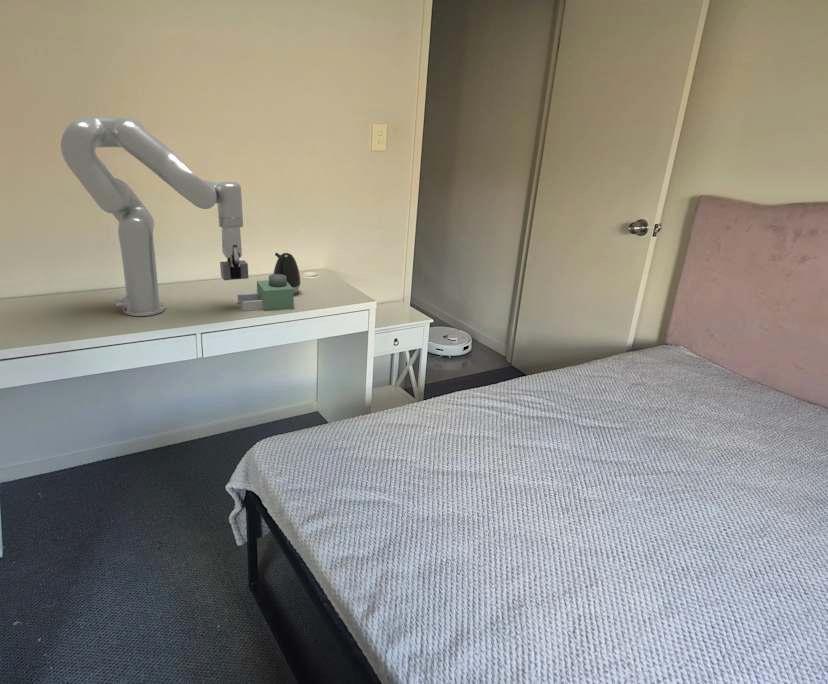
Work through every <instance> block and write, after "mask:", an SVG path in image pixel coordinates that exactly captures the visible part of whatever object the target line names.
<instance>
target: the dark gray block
mask: <svg viewBox="0 0 828 684" xmlns="http://www.w3.org/2000/svg"><path fill="white" fill-rule="evenodd" d="M219 265H220V267H219V268H220V277H221V279H222V280H223V281H232V280H245V279H246V280H247V279H250V278H249V264H248V262H247V261H246V260H244V259H243V260H240V268H241V278H236V279H232V278H231V272H230V267H231V261H227V260H226V261H220V262H219Z"/></svg>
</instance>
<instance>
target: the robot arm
mask: <svg viewBox="0 0 828 684" xmlns="http://www.w3.org/2000/svg"><path fill="white" fill-rule="evenodd" d="M61 136H62V137H61V140H60V152H61V155H62V158H63V160H64V163H66V164H65V165H66V166H67V167H68V168H69V169H70V170H71V172H72V173H73V176H75V177H76V178H77V180H78V181H79V182H80V183H81V186H83V188H84V189H85V190H86V191H87V193H88V194H89V195H90V197H92V199H93V200H94V201H95V203H96V204H97V206H98V207H99V208H100V209H101V210H102V211H104V212H106V213H107V214H112V215H113V216H114V218H115V219H116V220H117V222H119V223H118V226H117V232H118V233H117V235H118V241H119V245H120V252H121V257H122V258H121V261H122V267H123V276H124V284H125V297H122V299H111V300H110V301H111V306H112V307H113V306H115V307H116V308H121V307H122V312H123V314H125V315H128V316H133V317H149V316H150V317H151V316H154V315H159V314H161V313H163V312H164V311H165V309H166V305H165V304H164V303H162V302H160V294H159V283H158V282H159V281H158V273H157V271H158V270H157V263H156V253H155V252H156V251H155V244H154V227H155V222H154V218H153V216H152V214H151V213H150V211H149V210H148V209H147V207H146V205H144V203H143V202H142V201H141V200H140V199H139V197H138V196H137V194H136V193H135V192H134V190H133V189H132V188H131V187H130V186H129V184H127V183H126V181H124V180H122V179H121V178H116V177H115V176H114V175H113V174H112V173H111V172H110V170H109V169H108V168H107V166H106V165H105V164H104V163H103V161H102V160H101V158H99V157H98V155H97V153H96V148H121V149H123V150H124V151H126V152H127V153H128V154H129V155H131V156H133V157H134V158H135V159H136V160H137V161H139V162H140V163H141V164H142V165H143V166H145V167H146V168H148V169H149V170H151V172H153V173H154V174H155V175H157V176H158V177H159V178H160V180H162V181H164V182H165V183H166V184H167V185H169V187H171V188H172V189H173V190H174V191H175V192H176V193H178V194H179V195H181V196H182V197H183V198H185V199H186V200H187V201H188V202H190V203H191V204H192V205H194V206H195V207H197V208H199V209H201V210H209V209H211V208H213V207H214V206H215V204H217V214H218V227H219V228H221V248H222V250H221V251H222V254H223V255H224V257H225V258H226V261H231V267H230V272H231V278H232V279H235V280H237V279H236V278H241V268H240V261H241V260H240V259H241V257H243V255H242V253H243V252H242V251H243V250H242V236H241V228H243V227H244V219H243V218H244V217H243V200H242V187H241V184H240V183H238V182H234V181H222V182H221V181H220V182H218V181H209V180H202V179H201V178H200V177H199V176H198V175H196V174H195V173H194V172H193V171H192V170H190V169H189V167H187V166H186V165H185V164H184V163H183V162H182V160H181V159H180V158H179V156H178V155H177V154H176V153H175V152H174V151H173V150H171V149H170V148H169V147H168V146H166V145H165V144H164V143H163V142H162V141H160V140H159V139H158V138H156V137H155V136H154V135H153V134H152V133H151V132H150V131H148V130H146V129H145V127H144V126H143V124H142V123H141V122H139V121H138V120H137V119H135V118H131V117H117V118H116V117H114V118H113V117H111V118H110V117H109V118H108V117H105V118H104V117H82V118H78V119H75V120H73V121H72V122H70V123H69V124H68V125H67V127H66V128H65V129H64V131H63V134H62V135H61Z"/></svg>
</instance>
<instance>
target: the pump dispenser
mask: <svg viewBox="0 0 828 684" xmlns="http://www.w3.org/2000/svg"><path fill="white" fill-rule="evenodd" d="M274 256H276V257H277V260H276V262H275V266H274V269H273V274H282V275H286V277H287V282H288V283H289V284H290V286H291V287H292V288H293V289H294V294H296V293H297V292H298V290H299V288H300V285H301V274H300V270H299V266H298V264H297V262H296V261H297V260H296V258H295V257H294V256H293V254H291V253H289V252H284V253H282V254H280V253H278V252H275V254H274Z"/></svg>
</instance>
